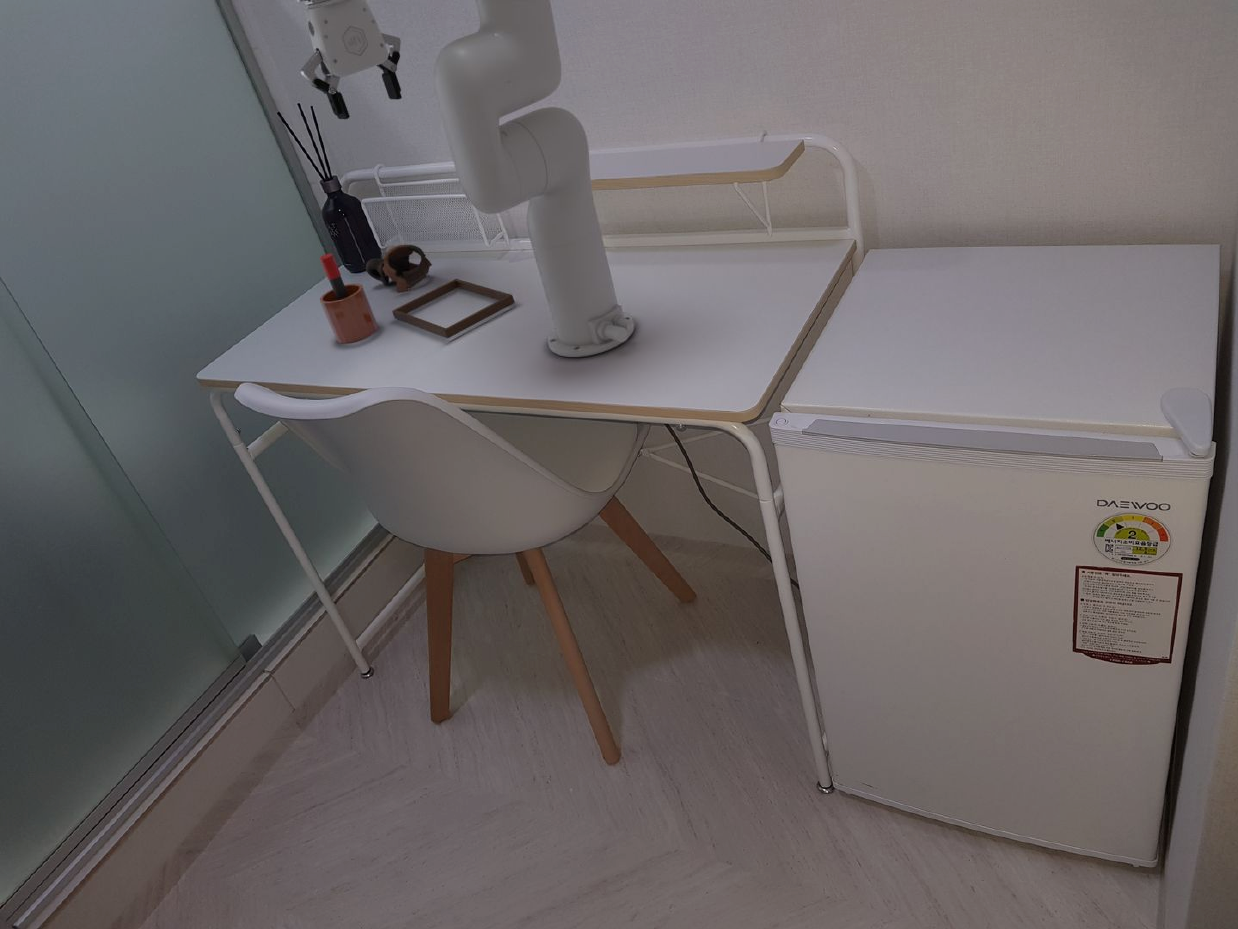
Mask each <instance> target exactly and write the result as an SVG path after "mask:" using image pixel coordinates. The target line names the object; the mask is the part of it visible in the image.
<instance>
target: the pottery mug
mask: <svg viewBox="0 0 1238 929" xmlns="http://www.w3.org/2000/svg"><path fill="white" fill-rule="evenodd" d="M414 253H416V254H418V255H419V256H420V262H419V263H414V262H410V256H411V255H413V254H414ZM432 266H433V263H431V260H429V259H428V258H427V257H426V254H425V252H424V251H423V250H422V248H420V247H419V246H416V245H413V244H400V245H397V246H393V247H392V248H389V249H388V251H387V252H386V253H385V255H384V257H383V258H377V257H375V258H371V259H369V260H368V261H367V262H366V264H365V271H366V273H367V275H369V277H371V278H373V279H374V280H377V281H379V282H381V283H382V284H383V285H384V286H385V287H387V286H389V284H390V280H391V281H392V282H395V283H396V292H397V293H405V292H409V289H412V288H413V287H415V286H416V285H417V284H419V283H421V282H422V281H423V280H424V279H426V277H427V276H426V275H428V274H429V272H430V267H432Z"/></svg>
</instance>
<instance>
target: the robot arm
mask: <svg viewBox="0 0 1238 929" xmlns="http://www.w3.org/2000/svg"><path fill="white" fill-rule="evenodd" d="M296 2H297V3H304V4H305V6H307V8H306V9H304V13H305V19H306V25H307V30H308V33H309V37H310V42H311V44H312V45H311V46H312V48H313V51H314V53H313V54H312V55H311V56H310V58H308V60H307V61H306V62H305V64H304V65H303V66H302V67H301V68H300V74H301V76H302V77H303V78H304V79H305V80H307V82H308V83H309V84H310V85H311V86H312V87H314V88H315V89H317V90H318V91H320V92H322V94H325V95H326V96H327V99H328V102H329V104H330V107H331V110H332V112H333V114H334V116H336V117H337V119H338V120H349V119H350V117H351V116H350V113H349V110H348V107H347V104H346V102H345V99H344V97H343V93H342V92H341V91H338V87H339V84H340V83H339V82H340V79H341V78H345V77H348V76H351V75H353V74H357V73H360V72H363V71H365V70H368V69H371V68H373V67H377V68H378V69H380V70H381V71H382V72H383V73H381V79H382V81H383V85H384V88H385V90H386V93H387V96H388V99H389V100H396V101H397V100H398V101H399V100H402V98H403V96H402V93H401V92H402V88H401V85H400V82H399V79H398V76H397V73H396V72H397V70H398V64H399V62H400V59H401V54H400V53H401V52H400V51H401V43H402V41H401V38H400V37H398V36H394V35H391V34H386V33H384V32H381V30H380V28H379V25H378V23H377V20H376V18H375V16H374V14H373V12H372V10H371V7H370V6H369V4H368V2H367V0H296ZM475 3H476V7H477V13H478V17H479V18H478V19H479V29H478V30H477V31H476V32H473V33H470V34H468V35H464V36H462V37H459V38H456V39H454V40H452V41H451V42H449V43H447V44H445V46H443V48H441V50H440V51H439V53H438V54H437V56H436V59H435V63H434V66H433V67H434V68H433V84H434V92H435V95H436V100H437V104H438V108H439V112H440V115H441V119H442V123H443V127H444V132H445V134H446V139H447V142H448V146H449V150H450V154H451V157H452V158H451V159H452V162H453V165H454V168H455V172H456V175H457V179H458V182H459V184H460V187H461V189H462V191H463V193H464V195H465V197H466V198H467V200H468V201H469V203H470V204H471V205H472V206H473V207H474V208H475V209H476V210H477V211H479V212H481V213H484V214H488V215H495V214H500V213H503V212H506V211H507V210H508V211H509V210H510V209H513V208H515V207H518V206H520V205H521V204H524V203H526V202H527V201H528V205H527V213H526V227H527V233H528V237H529V241H530V243H531V248H532V251H533V255H534V258H535V263H536V266H537V269H538V273H539V276H540V280H541V283H542V287H543V290H544V293H545V297H546V300H547V304H548V307H549V312H550V314H551V318H552V322H553V325H554V328H553V329H552V330H551V332H550V333H549V334H548V336H547V344H548V348H549V349H550V351H551V352H553V354H556V355H558V356H561V357H565V358H566V357H567V358H568V357H569V358H581V357H589V356H593V355H597V354H598V355H599V354H601V353H604V352H607V351H609V350H612V349H615V348H616V347H617V346H619V345H621V344H623V343H625V342H626V341H627V340H628V339H629V338H630V336H632V334H633V332H634V330H635V322H634V319H633V317H632V316H631V315H630V314H629V313H628V312H626V311H623V307H622V305H619V302H618V298H617V293H616V291H615V286H614V285H615V284H614V282H613V277H612V273H611V269H610V265H609V261H608V257H607V256H608V255H607V252H606V248H605V243H604V240H603V235H602V230H601V227H600V223H599V218H598V214H597V209H596V205H595V201H594V194H593V190H592V181H591V166H590V165H591V164H590V148H589V142H588V137H587V133H586V131H585V128H584V126H583V124H582V123H581V121H580V120H579V119H578V117H577V116H576V115H575V114H573V113H572V112H570V111H569V110H568V109H565V108H562V107H557V106H549V107H543V108H538V109H535V110H532V111H530V112H528V113H525V114H522V115H520V116H518V117H516V118H513V119H511V120H508V121H506V122H505V123H502V124H500V119H501V118H502V117H505V116H507V115H510V114H512V113H515V112H517V111H519V110H522V109H524V108H526V107H529V106H531V105H534V104H535V103H538V102H540V101H542V100H544V99H546V98H548V97H550V96H551V95H552V94H554V93H555V92H556V91H557V89H558V88H559V86H560V84H561V80H562V62H561V56H560V48H559V43H558V37H557V33H556V27H555V21H554V14H553V9H552V5H551V0H475ZM387 45H388V46H389V52H388V48H387ZM318 67H319V68H320V71H321V73H322V74H323V76H324V78H323V79H321V78H319V77H318V76H317V74H316V73H315V72H316V69H317V68H318Z"/></svg>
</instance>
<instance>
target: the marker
mask: <svg viewBox="0 0 1238 929" xmlns="http://www.w3.org/2000/svg"><path fill="white" fill-rule="evenodd" d="M319 262H320V264H321V266H322V269H323V271H324V273H325V275H326V278H327V280H328V281H329V283H330V285H331V288H332V289H333V290H334V293H335V295H336V298H337V300H341V299H344V298H347V297H349V295H348V293H347V290H346V288H345V285H346V284H345V283H344V281H343V279H342V278H343V277H342V276H341V275H342V274H341V272H340V269H339V267H338V265H337V262H336V259H335V257H334V255H333V253H326V254H324V255H322V256H320V257H319Z"/></svg>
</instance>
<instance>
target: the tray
mask: <svg viewBox="0 0 1238 929" xmlns="http://www.w3.org/2000/svg"><path fill="white" fill-rule="evenodd" d="M456 289H461V290H465V291H466V292H467V291H468V292H471V293H474V294H478V295H480V296H484V297H487V298H490V299H494V300H497V301H495V302H493V303H491V304H490V305H488V306H485V307H484V308H482V309H480V310H478V311H476V312H474V313H472V314H469V315H468V316H466V317H464V318H463V319H461V320H459V321H457V322H455V323H454V324H452V325H450V326H447V327H445V326H441V325H438V324H436V323H432V322H430V321H427V320H425V319H422V318H419V317H416V316H413V315H411V314H408V313H411V312H413V311H415V310H417V309H418V308H420V307H422V306H425V305H427V304H429V303H430V302H433V301H435V300H436V299H438V298H440V297H442V296H444V295H446V294H449V293H450V292H451V291H454V290H456ZM513 304H515V299H514V296H513V294H511V293H508V292H504V291H500V290H497V289H493V288H490V287H486V286H483V285H480V284H476V283H473V282H470V281H466V280H462V279H459V278H455V279H453V280H450V281H449V282H447V283H445V284H442V285H441V286H439V287H437V288H435V289H432V290H430V291H429V292H426V293H425V294H423V295H421V296H419V297H416V298H414V299H413V300H411V301H409V302H407V303H405V304H403V305H401V306H399V307H397V308H395V309H392V310H391V312H392V315H393V317H394V319H395V320H398V321H401V322H404V323H407V324H409V325H412V326H414V327H417V328H420V329H421V330H425V331H427V332H430V333H433V334H434V335H438V336H440V337H443V338H446V339H450V338H452V337H453V336H455V335H456V334H458V333H461V332H462V331H464V330H466V329H468V328H470V327H471V326H474V325H476V324H477V323H479V322H481V321H483V320H485V319H487V318H488V317H491V316H492V315H494V314H496V313H498V312H500V311H502V310H503V309H505V308H507V307H510V306H511V305H513ZM516 307H517V306H516V305H515V306H512V307H511V308H510V309H508V310H506V311H504V312H502V313H500V314H499V315H497V316H494V317H493V318H491V319H489V320H487V321H485V322H484V323H482V324H480V325H478V326H476V327H474V328H473V329H471V330H469V331H467V332H465V333H463V334H461V335H459V336H457V337H456V338H453V339H451V340H449V343H451V342H453V341H454V340H456V339H459V338H460V337H462V336H465V335H466V334H468V333H470V332H472V331H473V330H475V329H477V328H479V327H481V326H483V325H484V324H486V323H488V322H490V321H492V320H494V319H495V318H496V319H497V317H499V316H501V315H503V314H505V313H507V312H509V311H511V310H512V309H514V308H516Z"/></svg>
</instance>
